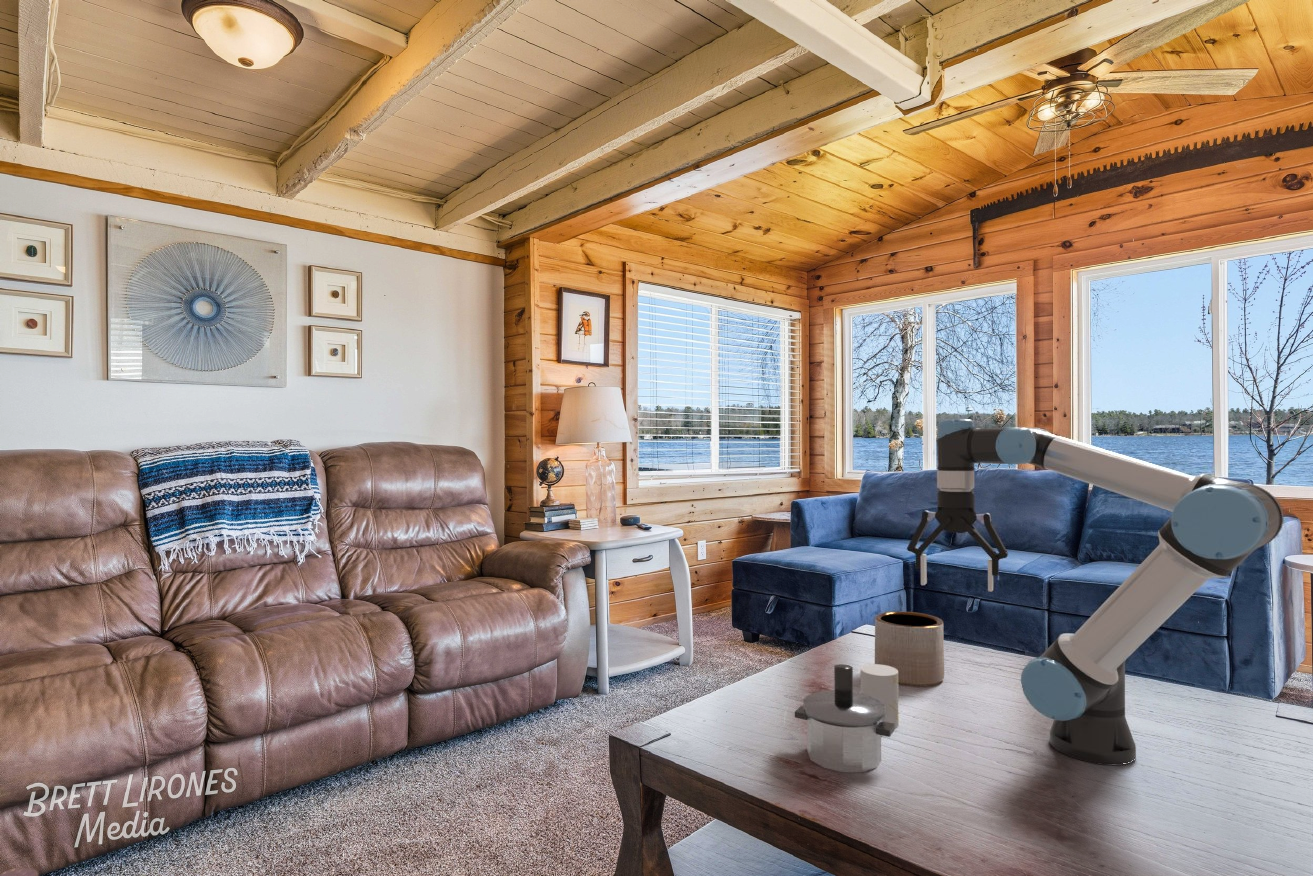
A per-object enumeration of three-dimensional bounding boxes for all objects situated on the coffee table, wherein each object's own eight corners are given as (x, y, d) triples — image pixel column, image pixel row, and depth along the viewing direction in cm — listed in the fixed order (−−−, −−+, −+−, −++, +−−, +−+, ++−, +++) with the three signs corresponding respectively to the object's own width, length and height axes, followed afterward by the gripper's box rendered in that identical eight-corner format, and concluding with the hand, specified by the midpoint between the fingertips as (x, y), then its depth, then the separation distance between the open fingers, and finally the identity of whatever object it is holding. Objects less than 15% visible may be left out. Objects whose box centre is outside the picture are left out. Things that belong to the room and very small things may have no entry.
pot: (900, 753, 145) (900, 709, 145) (883, 782, 133) (883, 733, 133) (809, 734, 155) (809, 692, 155) (786, 758, 143) (785, 714, 143)
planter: (861, 670, 198) (861, 613, 198) (915, 664, 203) (915, 609, 203) (901, 691, 181) (901, 629, 181) (959, 684, 186) (958, 624, 186)
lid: (893, 706, 147) (893, 662, 147) (873, 733, 133) (873, 685, 133) (817, 692, 155) (817, 651, 155) (792, 717, 141) (791, 671, 141)
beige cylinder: (900, 731, 156) (900, 676, 156) (862, 728, 158) (862, 674, 158) (896, 717, 164) (895, 665, 164) (859, 714, 166) (859, 663, 166)
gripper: (1020, 490, 152) (1021, 589, 152) (900, 487, 165) (901, 578, 165) (1018, 492, 146) (1018, 596, 146) (893, 489, 159) (893, 584, 159)
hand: (956, 587), depth 155 cm, fingers open, 13 cm apart
